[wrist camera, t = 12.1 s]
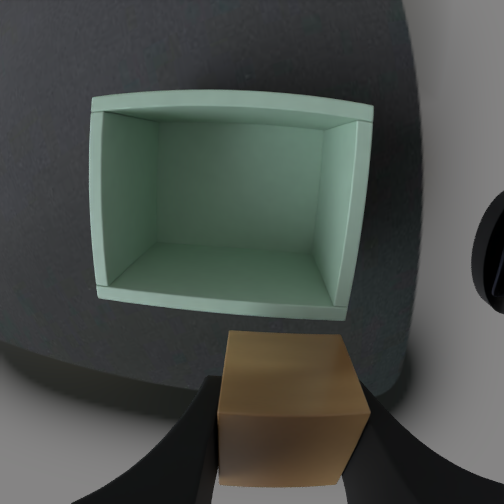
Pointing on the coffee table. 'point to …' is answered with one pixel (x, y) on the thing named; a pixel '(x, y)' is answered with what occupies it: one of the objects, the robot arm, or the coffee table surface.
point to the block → (287, 410)
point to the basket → (228, 200)
